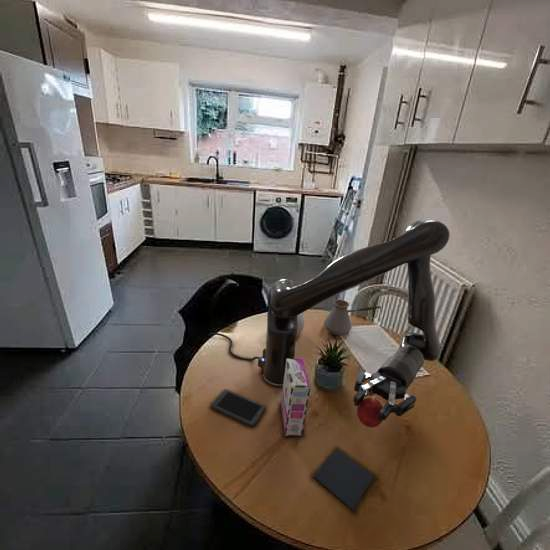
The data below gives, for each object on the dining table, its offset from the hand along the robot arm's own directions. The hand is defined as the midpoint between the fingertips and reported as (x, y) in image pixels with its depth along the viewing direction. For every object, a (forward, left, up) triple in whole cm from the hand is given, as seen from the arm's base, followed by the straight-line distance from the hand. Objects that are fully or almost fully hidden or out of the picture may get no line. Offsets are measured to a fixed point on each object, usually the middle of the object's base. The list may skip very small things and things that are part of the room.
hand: (367, 409), depth 66 cm
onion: (0, +3, -7) cm, 7 cm away
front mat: (0, -3, -19) cm, 19 cm away
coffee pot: (-31, +52, -19) cm, 64 cm away
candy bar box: (-19, +1, -19) cm, 27 cm away
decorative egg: (-47, +33, -19) cm, 61 cm away
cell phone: (-32, -7, -19) cm, 38 cm away
